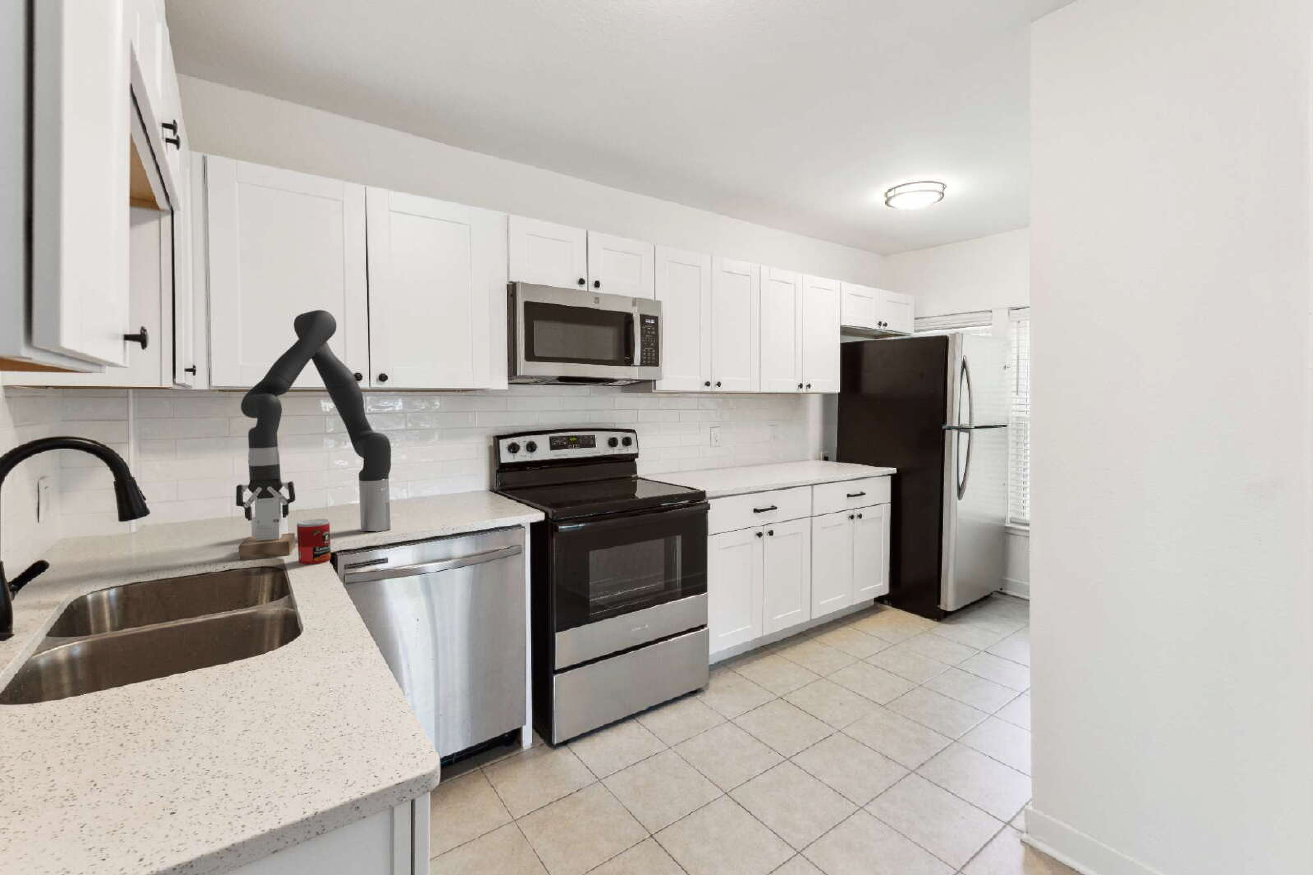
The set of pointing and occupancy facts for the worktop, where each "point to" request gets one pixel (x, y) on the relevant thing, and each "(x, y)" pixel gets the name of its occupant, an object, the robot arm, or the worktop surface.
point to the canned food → (313, 541)
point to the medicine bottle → (283, 525)
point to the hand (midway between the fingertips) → (267, 518)
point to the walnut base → (266, 547)
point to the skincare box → (268, 519)
